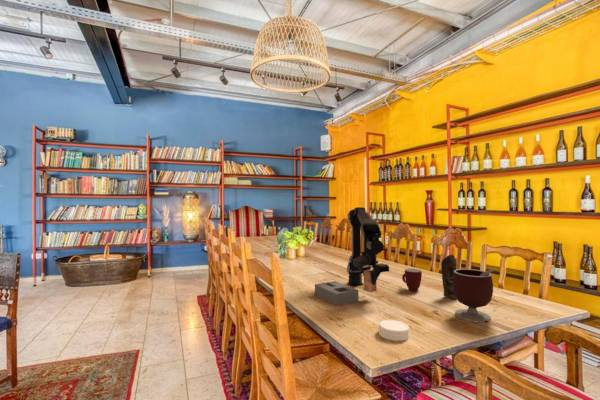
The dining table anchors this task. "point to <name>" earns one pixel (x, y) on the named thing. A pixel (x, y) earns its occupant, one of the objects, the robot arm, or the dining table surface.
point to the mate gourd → (473, 292)
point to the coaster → (394, 330)
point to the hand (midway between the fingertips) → (370, 283)
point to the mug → (412, 278)
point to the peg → (368, 282)
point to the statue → (448, 275)
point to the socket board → (336, 293)
